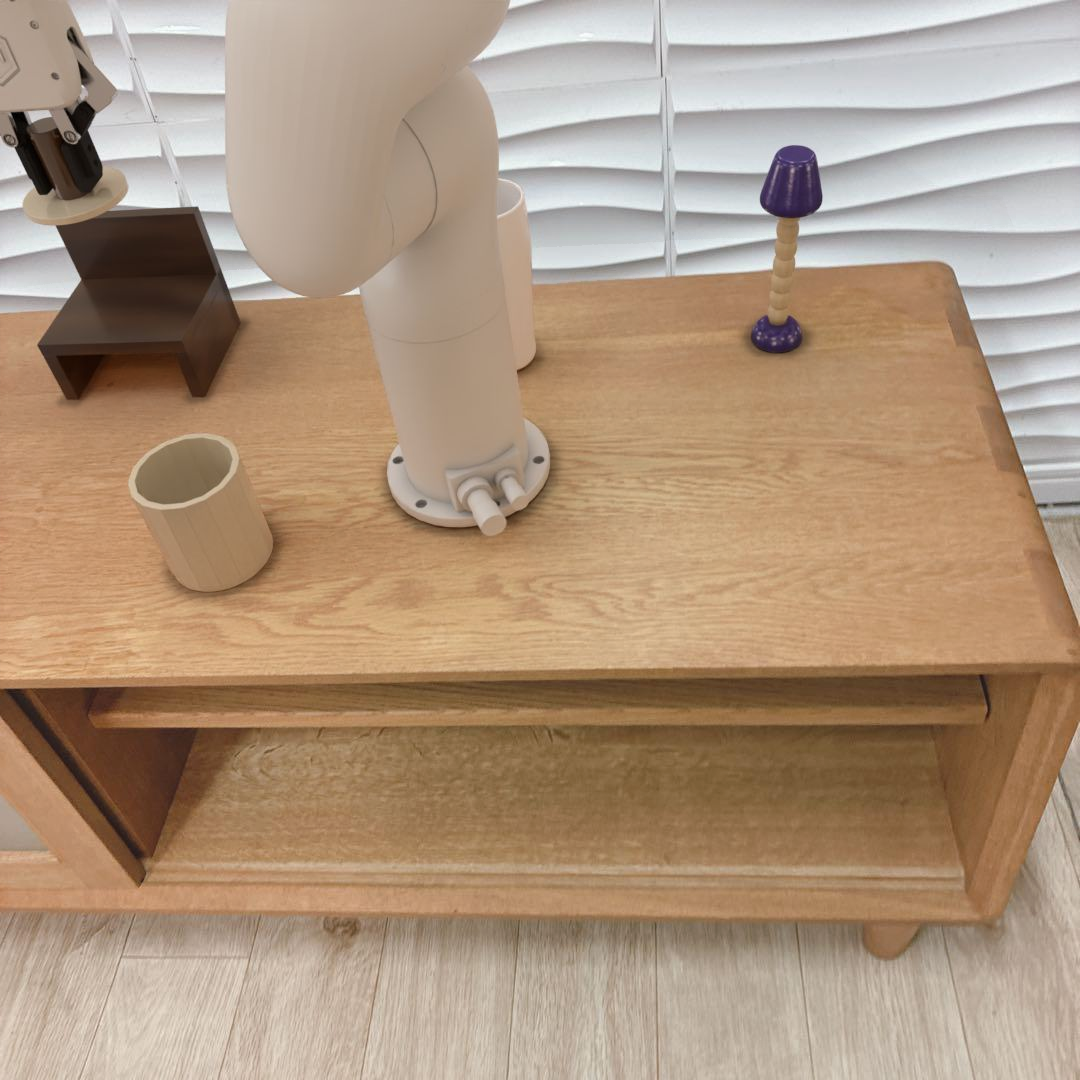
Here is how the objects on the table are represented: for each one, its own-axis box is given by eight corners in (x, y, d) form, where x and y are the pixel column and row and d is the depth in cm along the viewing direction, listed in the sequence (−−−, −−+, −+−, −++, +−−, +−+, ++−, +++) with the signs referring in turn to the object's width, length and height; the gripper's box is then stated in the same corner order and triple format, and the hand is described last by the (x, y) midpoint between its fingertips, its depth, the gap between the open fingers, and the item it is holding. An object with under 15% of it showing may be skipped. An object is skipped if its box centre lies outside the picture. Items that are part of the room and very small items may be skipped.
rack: (205, 396, 94) (155, 278, 85) (66, 400, 95) (3, 284, 87) (240, 322, 101) (198, 206, 92) (111, 326, 103) (58, 213, 94)
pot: (284, 568, 78) (249, 483, 72) (181, 606, 77) (137, 523, 71) (260, 504, 83) (226, 420, 77) (164, 539, 82) (121, 456, 76)
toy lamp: (807, 322, 92) (824, 135, 80) (810, 355, 89) (829, 166, 77) (750, 323, 93) (758, 139, 81) (751, 357, 89) (760, 169, 77)
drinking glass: (536, 383, 90) (514, 222, 79) (459, 380, 91) (427, 221, 81) (552, 335, 94) (533, 176, 84) (478, 332, 96) (450, 176, 85)
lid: (138, 212, 85) (105, 131, 80) (33, 243, 83) (-8, 162, 78) (123, 169, 90) (91, 90, 85) (24, 198, 88) (-14, 119, 83)
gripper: (-182, -39, 71) (-44, 214, 84) (48, -57, 68) (152, 206, 82) (-124, -78, 76) (-2, 167, 89) (92, -97, 73) (184, 157, 87)
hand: (71, 183), depth 85 cm, fingers closed on lid, 2 cm apart
